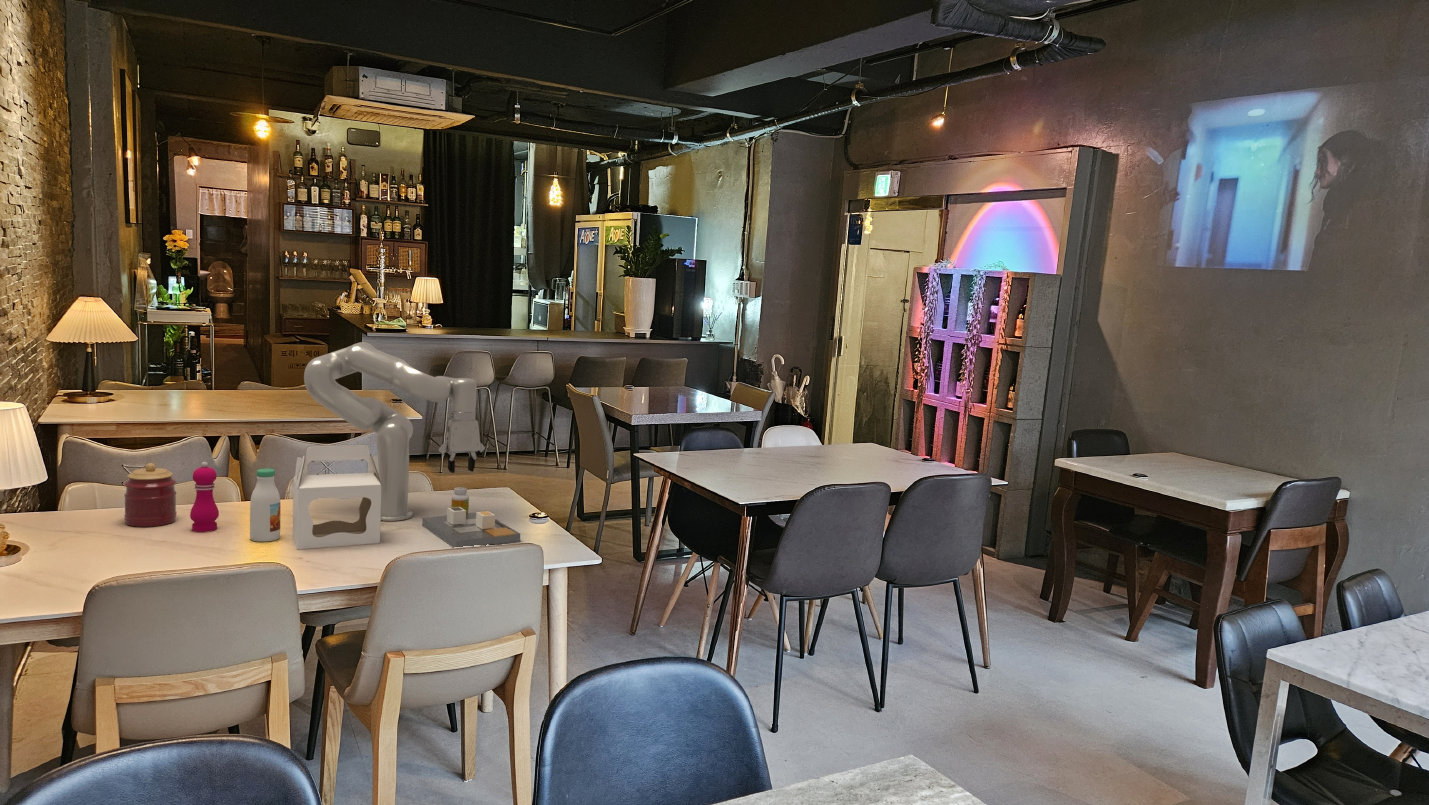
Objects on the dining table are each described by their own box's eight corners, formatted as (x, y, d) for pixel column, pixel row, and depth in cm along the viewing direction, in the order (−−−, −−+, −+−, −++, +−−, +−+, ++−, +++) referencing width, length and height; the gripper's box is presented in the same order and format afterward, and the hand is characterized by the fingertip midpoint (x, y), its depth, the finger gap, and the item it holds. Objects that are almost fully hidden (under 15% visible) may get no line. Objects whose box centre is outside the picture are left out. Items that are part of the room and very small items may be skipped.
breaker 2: (482, 529, 266) (482, 515, 265) (475, 525, 270) (476, 511, 269) (494, 527, 268) (495, 514, 268) (488, 523, 272) (488, 510, 272)
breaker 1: (452, 524, 269) (453, 511, 268) (446, 520, 272) (447, 507, 272) (465, 523, 271) (466, 510, 270) (459, 519, 275) (459, 506, 274)
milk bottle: (259, 544, 246) (260, 473, 244) (244, 538, 250) (244, 469, 248) (285, 538, 253) (286, 470, 250) (270, 533, 257) (270, 466, 254)
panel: (455, 549, 254) (455, 540, 253) (422, 525, 276) (422, 516, 275) (520, 541, 266) (520, 532, 266) (483, 519, 288) (483, 511, 287)
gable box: (373, 531, 266) (375, 440, 263) (381, 543, 255) (383, 448, 251) (291, 537, 254) (293, 441, 251) (296, 550, 243) (297, 450, 240)
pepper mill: (224, 528, 258) (224, 461, 256) (203, 534, 251) (203, 465, 249) (205, 524, 260) (206, 458, 258) (184, 530, 254) (184, 462, 251)
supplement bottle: (466, 520, 286) (467, 490, 285) (449, 519, 285) (450, 489, 284) (469, 515, 291) (470, 487, 290) (452, 515, 291) (453, 486, 289)
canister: (182, 523, 260) (182, 465, 258) (131, 530, 250) (131, 469, 248) (168, 514, 269) (168, 457, 267) (118, 520, 259) (118, 461, 257)
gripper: (441, 419, 276) (439, 475, 278) (493, 417, 286) (491, 472, 289) (432, 415, 282) (431, 470, 284) (484, 414, 292) (481, 467, 294)
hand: (461, 470), depth 286 cm, fingers open, 5 cm apart
